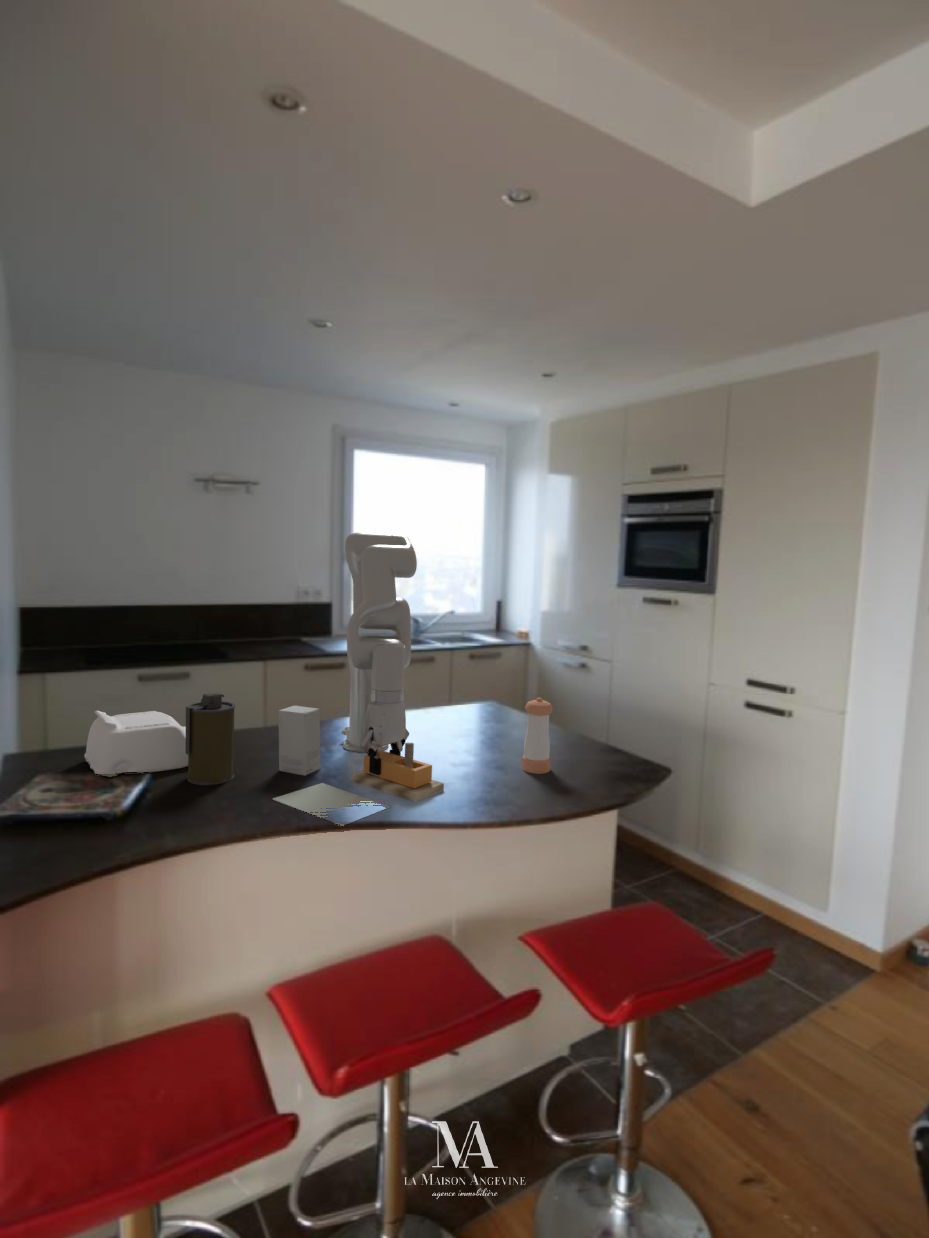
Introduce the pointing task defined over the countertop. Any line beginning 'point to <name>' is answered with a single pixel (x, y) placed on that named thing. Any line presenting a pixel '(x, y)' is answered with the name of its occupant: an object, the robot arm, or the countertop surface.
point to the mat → (322, 799)
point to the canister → (210, 740)
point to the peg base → (397, 788)
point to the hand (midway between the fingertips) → (384, 769)
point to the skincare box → (299, 740)
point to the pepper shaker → (537, 737)
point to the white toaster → (136, 743)
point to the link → (401, 770)
